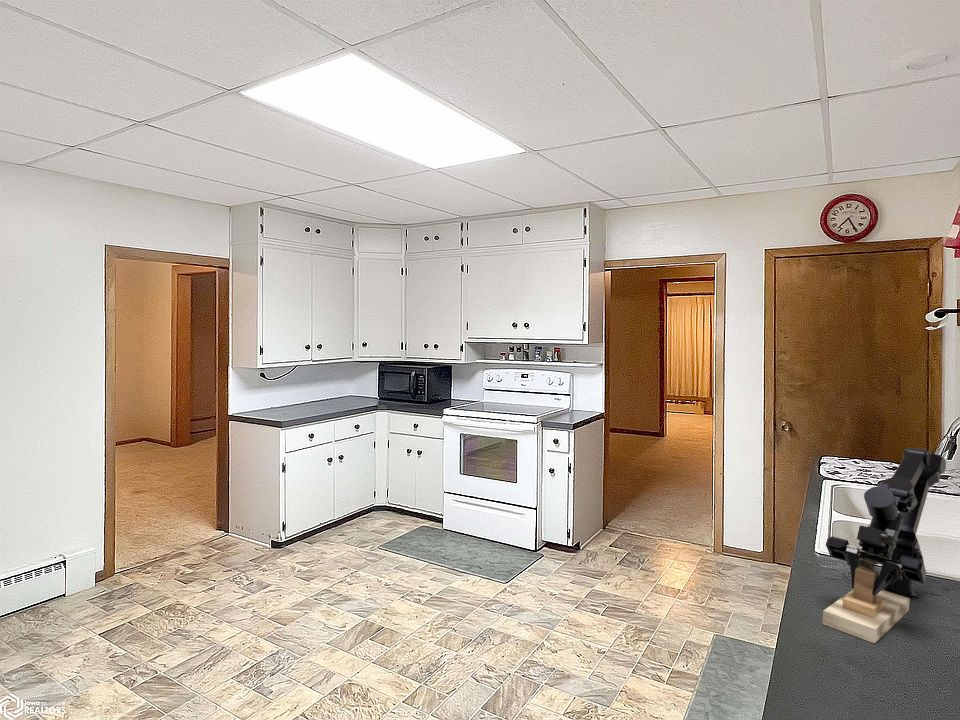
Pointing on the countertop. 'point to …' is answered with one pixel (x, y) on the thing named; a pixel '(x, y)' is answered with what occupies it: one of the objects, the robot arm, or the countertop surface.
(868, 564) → the hand tool
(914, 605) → the countertop surface
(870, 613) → the block
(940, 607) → the countertop surface
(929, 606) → the countertop surface
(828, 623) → the board
